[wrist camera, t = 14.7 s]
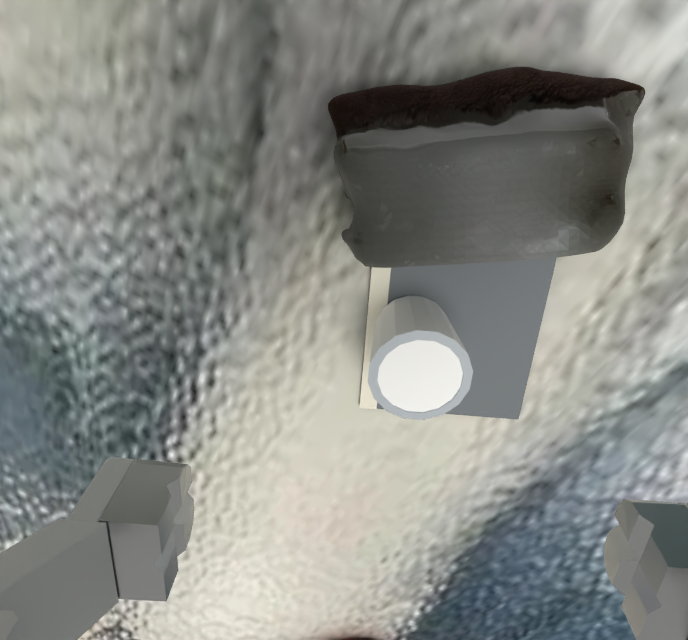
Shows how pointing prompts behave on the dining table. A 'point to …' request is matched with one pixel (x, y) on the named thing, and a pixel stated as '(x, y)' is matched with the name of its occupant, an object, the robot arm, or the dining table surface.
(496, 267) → the mat
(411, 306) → the shot glass
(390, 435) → the dining table surface
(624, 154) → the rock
